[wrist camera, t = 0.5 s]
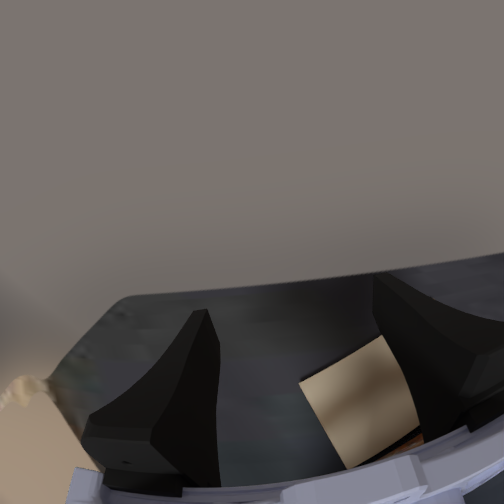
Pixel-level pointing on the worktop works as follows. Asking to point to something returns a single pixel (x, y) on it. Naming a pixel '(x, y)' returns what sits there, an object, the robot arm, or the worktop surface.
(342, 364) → the oak board
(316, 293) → the worktop surface
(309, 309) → the worktop surface
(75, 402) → the worktop surface
